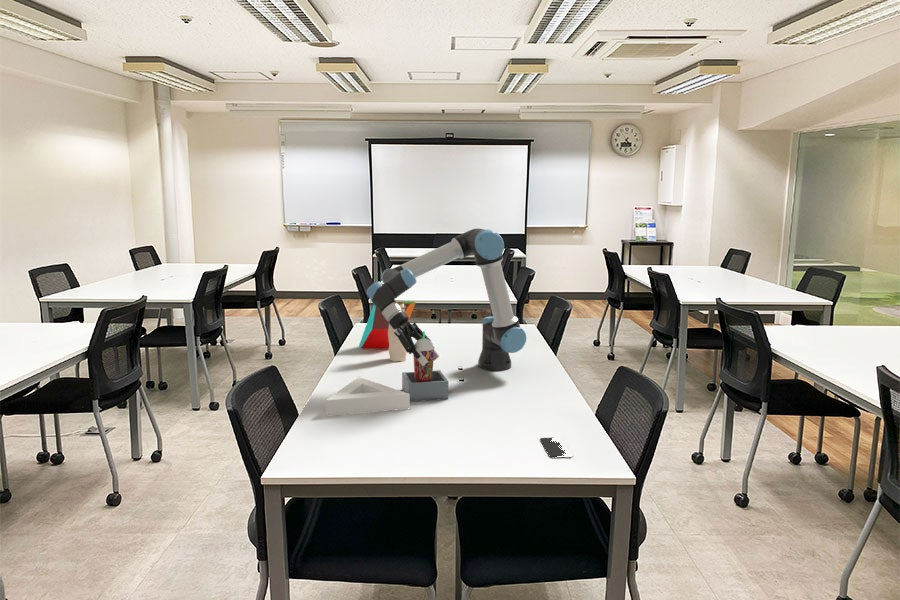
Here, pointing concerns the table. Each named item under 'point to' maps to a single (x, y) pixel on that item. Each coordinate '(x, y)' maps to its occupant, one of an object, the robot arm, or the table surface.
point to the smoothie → (428, 352)
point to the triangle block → (366, 398)
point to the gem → (380, 328)
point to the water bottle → (396, 342)
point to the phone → (552, 447)
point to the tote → (425, 387)
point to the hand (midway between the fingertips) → (431, 361)
